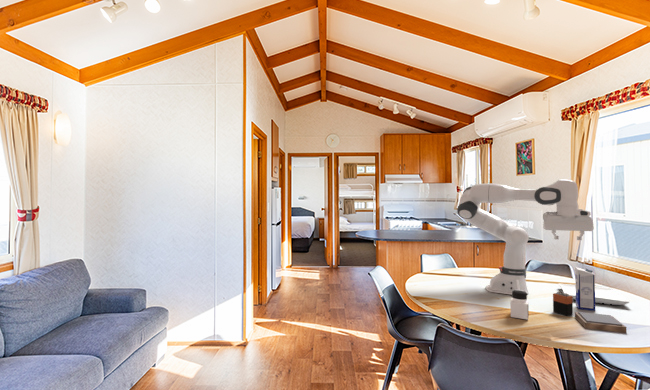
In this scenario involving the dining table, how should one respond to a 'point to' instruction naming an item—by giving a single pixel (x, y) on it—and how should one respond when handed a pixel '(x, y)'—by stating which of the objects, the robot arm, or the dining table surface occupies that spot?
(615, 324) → the wooden square tray
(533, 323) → the dining table surface
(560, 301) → the battery
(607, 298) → the square plate
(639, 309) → the dining table surface
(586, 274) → the milk carton
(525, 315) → the medicine bottle
